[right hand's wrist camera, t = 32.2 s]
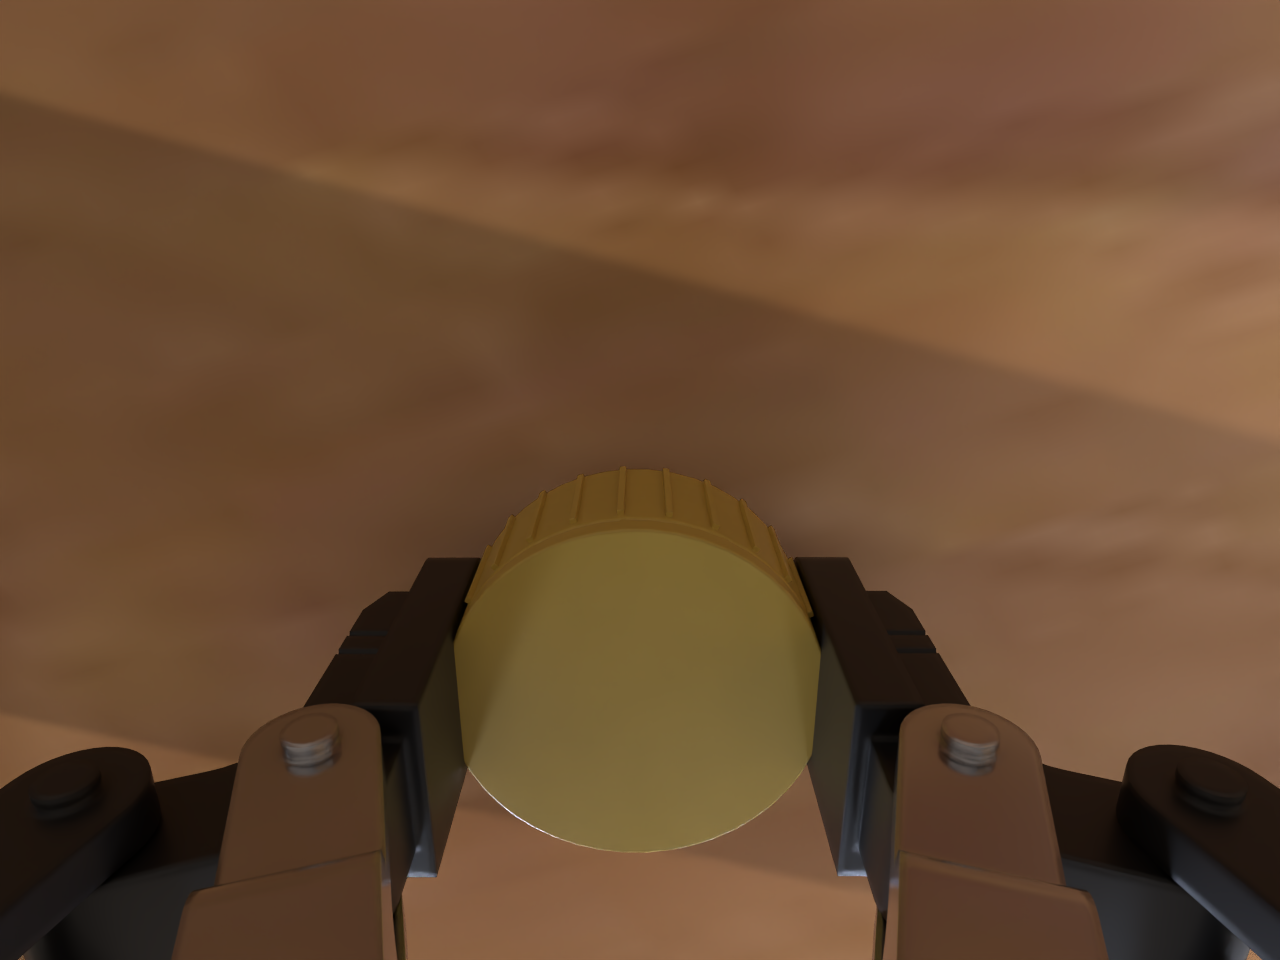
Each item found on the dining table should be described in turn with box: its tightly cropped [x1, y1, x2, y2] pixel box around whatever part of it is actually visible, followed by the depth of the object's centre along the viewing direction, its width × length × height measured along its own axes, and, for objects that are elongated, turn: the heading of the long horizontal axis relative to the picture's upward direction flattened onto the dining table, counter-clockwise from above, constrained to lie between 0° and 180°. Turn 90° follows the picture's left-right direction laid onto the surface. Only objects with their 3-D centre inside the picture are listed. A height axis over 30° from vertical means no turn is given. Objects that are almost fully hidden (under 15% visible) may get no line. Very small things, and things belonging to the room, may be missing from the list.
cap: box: [454, 466, 821, 852], centre depth 11 cm, size 5×5×2 cm
